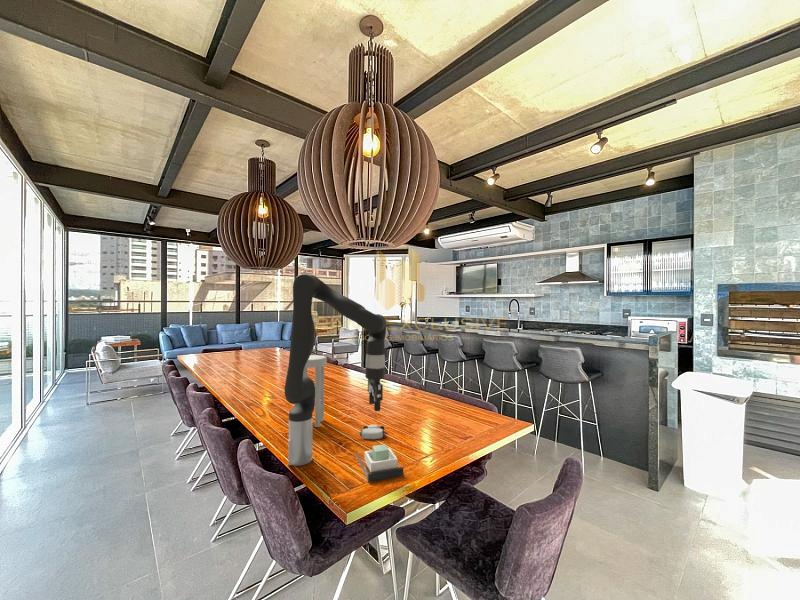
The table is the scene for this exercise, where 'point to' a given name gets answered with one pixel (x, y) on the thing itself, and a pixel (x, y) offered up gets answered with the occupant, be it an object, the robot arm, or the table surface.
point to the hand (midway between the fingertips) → (374, 407)
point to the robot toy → (372, 432)
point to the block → (380, 453)
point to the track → (381, 473)
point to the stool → (317, 384)
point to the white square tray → (381, 462)
